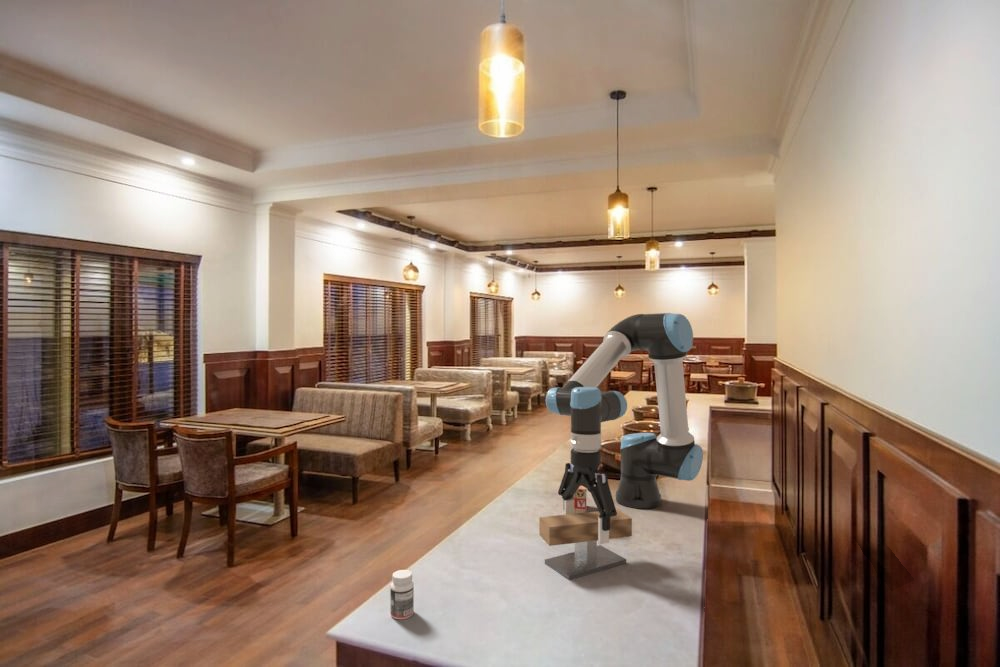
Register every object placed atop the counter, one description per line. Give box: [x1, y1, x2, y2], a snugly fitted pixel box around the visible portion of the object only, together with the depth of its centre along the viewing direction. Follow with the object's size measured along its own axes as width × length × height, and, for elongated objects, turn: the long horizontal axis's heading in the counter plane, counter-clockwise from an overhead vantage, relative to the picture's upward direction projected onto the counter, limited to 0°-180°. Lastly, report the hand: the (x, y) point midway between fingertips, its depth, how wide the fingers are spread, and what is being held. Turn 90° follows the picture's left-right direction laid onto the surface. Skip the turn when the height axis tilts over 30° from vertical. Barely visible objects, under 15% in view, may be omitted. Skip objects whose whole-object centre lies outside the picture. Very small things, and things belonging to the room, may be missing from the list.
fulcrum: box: [544, 540, 627, 581], centre depth 133 cm, size 18×10×7 cm, turn 119°
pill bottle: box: [389, 569, 415, 620], centre depth 109 cm, size 5×5×8 cm
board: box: [538, 508, 633, 547], centre depth 133 cm, size 22×7×4 cm, turn 106°
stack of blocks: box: [571, 486, 587, 514], centre depth 167 cm, size 21×6×12 cm, turn 171°
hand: (585, 533), depth 133 cm, fingers open, 13 cm apart
